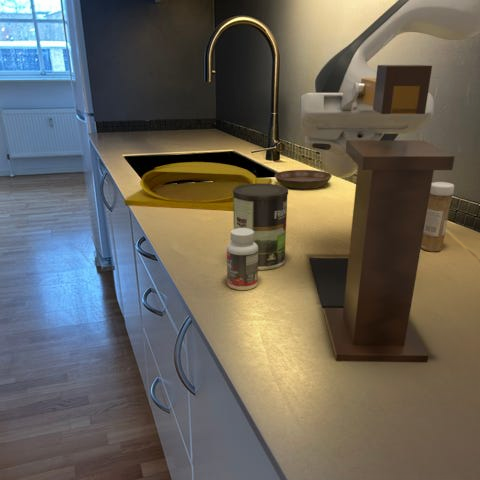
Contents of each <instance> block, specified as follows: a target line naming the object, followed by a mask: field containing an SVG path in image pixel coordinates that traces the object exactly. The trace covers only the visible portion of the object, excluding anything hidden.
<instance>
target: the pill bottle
mask: <svg viewBox="0 0 480 480" xmlns="http://www.w3.org/2000/svg"><path fill="white" fill-rule="evenodd" d="M229 237H230V238H229V239H230V242H229V243H228V244H227V245H226V282H227V283H226V284H227V286H228V287H229V288H231V289H232V290H237V291H249V290H252V289H254V288H256V287H257V286H258V280H259V270H258V245H257V244H256V243H255V242H253V241H254V231H253V230H251V229H248V228H237V229H234V228H233V229H231V230H230V236H229Z"/></svg>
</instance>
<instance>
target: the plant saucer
mask: <svg viewBox="0 0 480 480" xmlns="http://www.w3.org/2000/svg"><path fill="white" fill-rule="evenodd" d="M332 176H333V175H331V174H330V173H329V172H328V171H324V170H323V171H322V170H314V169H291V170H290V169H289V170H282V171H279V172H276V173H275V174H274V177H275V179H276V181H277V182H278V184H280V186H284V187H286V188H288V189H289V188H290V189H297V190H298V189H300V190H306V189H307V190H309V189H318V188H322V187H324V186H326V185H327V184H328V182H329V181H330V180H331V178H332Z"/></svg>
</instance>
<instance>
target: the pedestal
mask: <svg viewBox="0 0 480 480" xmlns="http://www.w3.org/2000/svg"><path fill="white" fill-rule="evenodd" d="M346 153H347V154H348V155H349V156H350V157H351V158H352V159H353V160H354V161H355V163H356V164H357V165H358V170H357V172H356V180H355V189H354V201H353V210H352V220H351V229H350V239H349V249H348V258H349V259H348V269H347V279H346V288H345V298H344V308H323V316H324V320H325V323H326V327H327V331H328V335H329V340H330V342H331V346H332V351H333V354H334V358H335V361H337V362H338V361H339V362H401V363H402V362H404V363H405V362H407V363H408V362H409V363H411V362H412V363H428V360H429V353H428V352H427V350H426V349H425V348H426V347H424V344H423V343H422V342H421V340H420V338H419V336H418V335H417V333H416V331H415V329H414V328H413V326H412V324H411V323H410V321H409V320H410V316H411V315H410V314H411V309H412V304H413V303H412V302H413V297H414V291H415V285H416V279H417V274H418V267H419V261H420V256H421V255H420V254H421V249H422V248H421V244H422V238H423V232H424V226H425V220H426V214H427V208H428V202H429V196H430V190H431V184H432V183H433V177H434V172H435V171H453V168H454V162H455V158H456V157H455V156H454V155H453V154H451V153H449V152H447V151H445V150H442V149H441V148H439V147H437V146H434V145H433V144H431V143H429V142H427V141H425V140H398V139H397V140H396V139H395V140H347V142H346Z"/></svg>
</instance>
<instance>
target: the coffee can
mask: <svg viewBox="0 0 480 480" xmlns="http://www.w3.org/2000/svg"><path fill="white" fill-rule="evenodd" d="M232 195H233V212H232V213H233V229H237V228H248V229H251V230H253V231H254V241H253V242H255V243H256V244H257V245H258V271H268V270H274V269H277V268H281V267H282V266H284V264H285V263H286V238H287V217H288V214H287V213H288V195H289V188H288V187H285V186H282V185H281V184H280V185H279V184H274V183H271V184H265V183H256V184H250V183H245V184H241V185H237V186H235V187H233V188H232Z"/></svg>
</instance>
